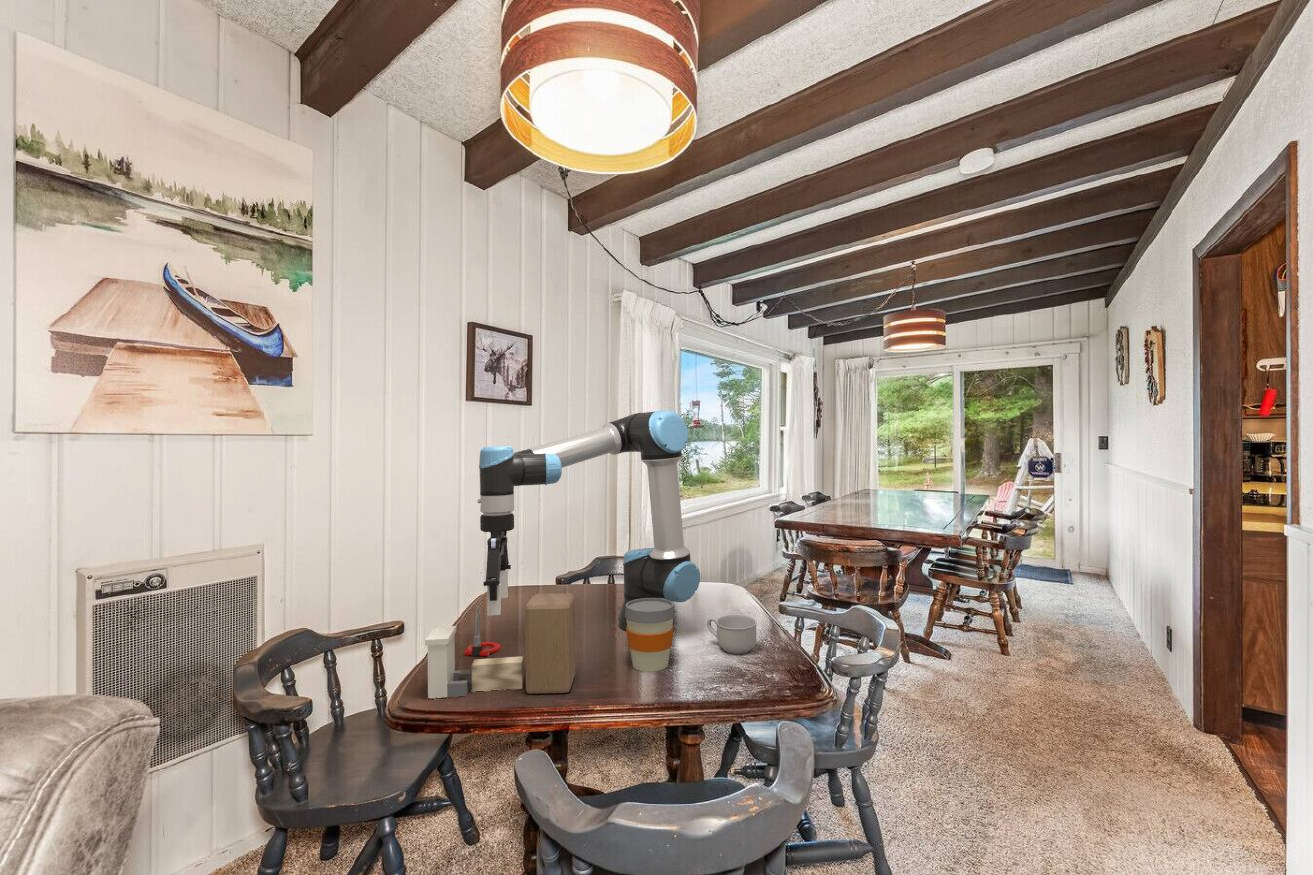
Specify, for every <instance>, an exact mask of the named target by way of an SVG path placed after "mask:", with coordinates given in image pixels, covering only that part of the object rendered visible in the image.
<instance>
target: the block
mask: <svg viewBox="0 0 1313 875" xmlns="http://www.w3.org/2000/svg"><path fill="white" fill-rule="evenodd" d="M575 613H576V612H575V596H574V594H573V593H570V592H569V593H567V592H566V593H536V594H533V595H532V596H531V598H530V599H529V600H528V601H527V603H526V605H525V607H524V630H525V631H524V632H525V633H524V634H525V635H524V636H525V637H524V642H525V644H524V645H525V646H524V648H525V650H524V651H525V658H524V659H525V690H526V693H527V694H530V695H531V694H564V693H565V694H566V693H569V692H571V688H572V686H573V682H574V679H575V675H576V642H575V641H576V640H575V639H576V634H575V632H576V631H575V630H576V628H575V627H576V626H575V623H576V622H575Z"/></svg>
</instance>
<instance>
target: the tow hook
mask: <svg viewBox="0 0 1313 875" xmlns="http://www.w3.org/2000/svg"><path fill="white" fill-rule="evenodd" d="M475 611H476V612H475V617H474V619H475V622H474V637H473V639H474V640H473V644H471V645H470V646H468V648H467V649H464V652H463V654H464V656H469V655H471V656H472V657H490V654H493V653H496V652H498V651H500V649H501V644H500V643H498V642H494V641H493V642H492V641H485V642H481V634H480V632H481V631H480V630H481V628H480V627H481V614H480V606H479V605H477V606H476V608H475ZM482 646H484V647H491V646H492V648H488V649H483V647H482Z"/></svg>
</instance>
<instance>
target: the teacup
mask: <svg viewBox="0 0 1313 875" xmlns="http://www.w3.org/2000/svg"><path fill="white" fill-rule="evenodd" d="M712 622H714V623H715V625H716V630H715V629H714V628H713V626H712ZM757 623H758V622H757V619H755V618H754V617H753V616H750V615H746V614H742V613H741V614H739V613H730V614H724V615H722V616H719V617H718V618H717V617H715V616H711V617H709V618H708V619H707V621H706V628H707V629H708V631H709V632H710V633H711V634H712V635H713V636H714V637H716V639H717V643H718V645H719V647H721V649H723V651H725V652H727V653H730V654H734V655H742V654H746V653H748V652H749V651H750V650H751V649H753V648H754V647H755V645H756V643H757V625H758V624H757Z"/></svg>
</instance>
